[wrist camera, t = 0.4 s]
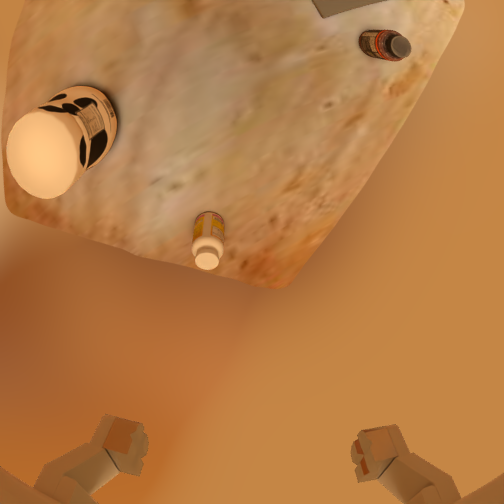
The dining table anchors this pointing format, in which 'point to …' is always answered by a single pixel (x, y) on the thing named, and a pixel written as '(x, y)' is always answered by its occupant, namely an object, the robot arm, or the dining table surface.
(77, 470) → the robot arm
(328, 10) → the socket board
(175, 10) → the dining table surface
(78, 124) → the milk container
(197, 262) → the supplement bottle
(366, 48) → the supplement bottle
